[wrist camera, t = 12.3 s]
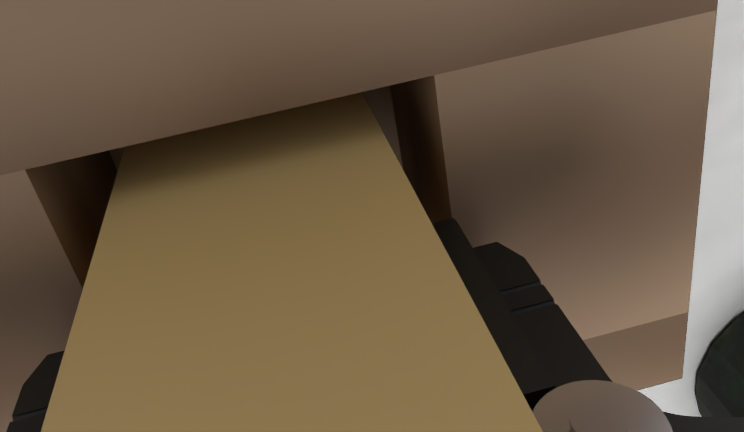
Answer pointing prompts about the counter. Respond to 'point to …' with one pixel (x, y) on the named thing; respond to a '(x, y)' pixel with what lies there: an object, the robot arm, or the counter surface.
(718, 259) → the counter surface
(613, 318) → the socket block
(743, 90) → the counter surface
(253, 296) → the peg
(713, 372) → the sushi
